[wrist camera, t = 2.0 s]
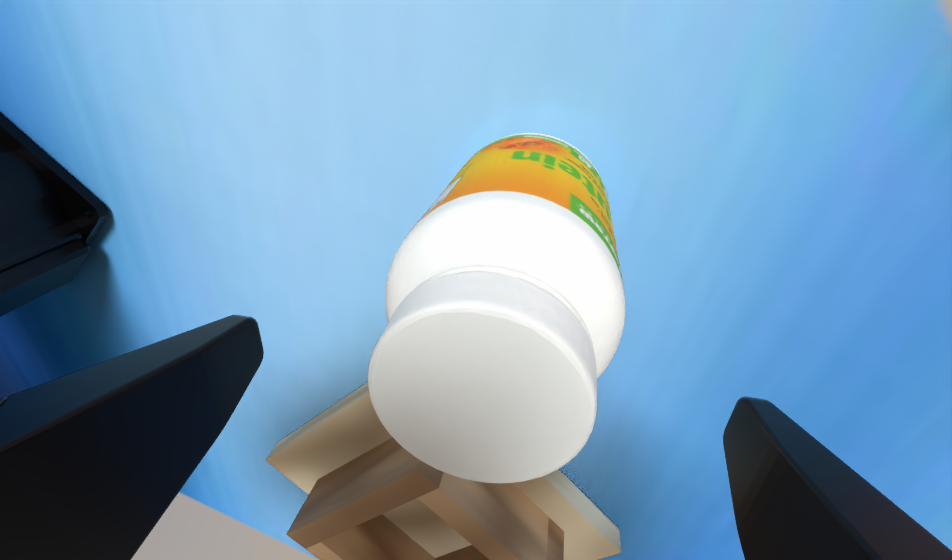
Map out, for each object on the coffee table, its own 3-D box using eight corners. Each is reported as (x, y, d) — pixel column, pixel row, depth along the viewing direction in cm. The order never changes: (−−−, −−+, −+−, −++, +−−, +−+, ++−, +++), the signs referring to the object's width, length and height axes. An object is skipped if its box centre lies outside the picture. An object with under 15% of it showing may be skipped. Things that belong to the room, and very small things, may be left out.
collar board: (277, 442, 25) (227, 512, 21) (429, 340, 20) (396, 411, 16) (450, 583, 29) (432, 664, 25) (619, 529, 23) (627, 622, 20)
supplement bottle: (643, 189, 15) (726, 393, 7) (547, 301, 18) (521, 546, 9) (505, 95, 15) (409, 191, 6) (427, 226, 17) (287, 416, 9)
